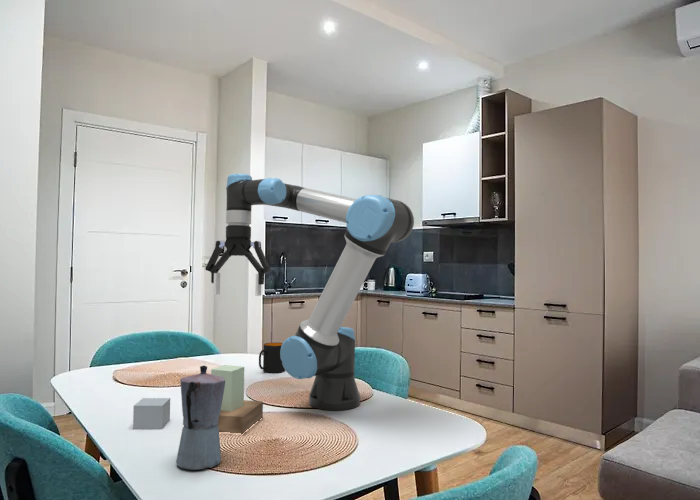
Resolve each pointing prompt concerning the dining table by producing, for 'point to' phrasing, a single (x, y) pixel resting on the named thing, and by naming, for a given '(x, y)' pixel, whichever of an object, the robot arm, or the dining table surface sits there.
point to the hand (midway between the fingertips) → (237, 295)
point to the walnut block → (241, 417)
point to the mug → (271, 358)
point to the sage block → (231, 386)
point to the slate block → (151, 413)
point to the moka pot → (200, 420)
